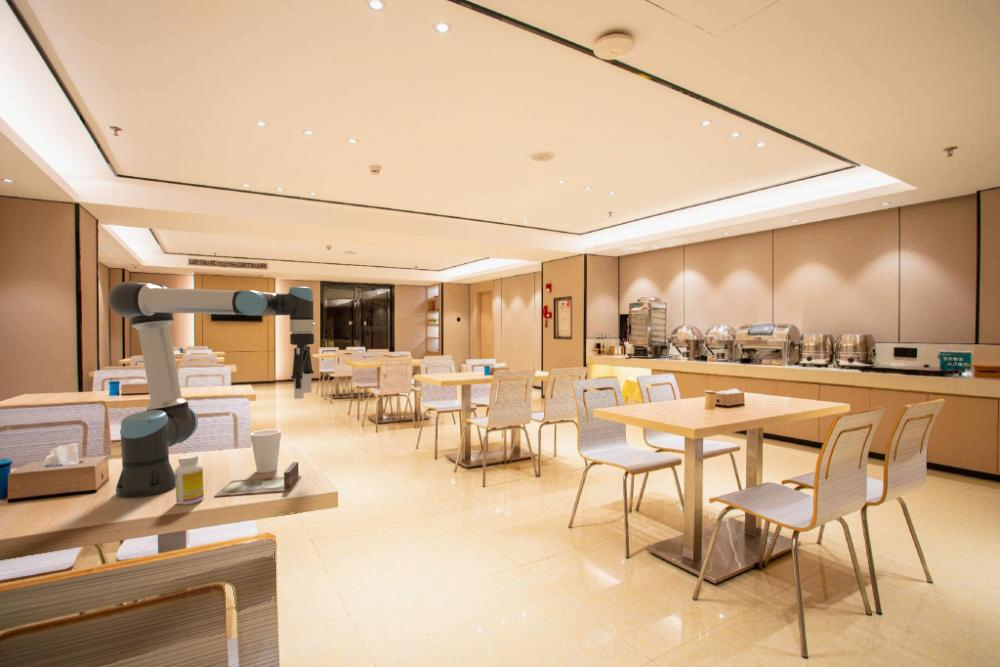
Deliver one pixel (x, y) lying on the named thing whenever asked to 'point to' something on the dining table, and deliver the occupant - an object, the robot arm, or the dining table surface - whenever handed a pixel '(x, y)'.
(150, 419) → the robot arm
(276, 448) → the foam cup
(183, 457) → the supplement bottle
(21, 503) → the dining table surface
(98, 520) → the dining table surface
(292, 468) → the keyhole board
